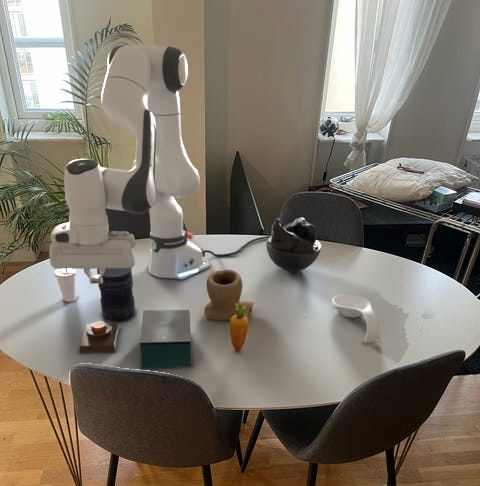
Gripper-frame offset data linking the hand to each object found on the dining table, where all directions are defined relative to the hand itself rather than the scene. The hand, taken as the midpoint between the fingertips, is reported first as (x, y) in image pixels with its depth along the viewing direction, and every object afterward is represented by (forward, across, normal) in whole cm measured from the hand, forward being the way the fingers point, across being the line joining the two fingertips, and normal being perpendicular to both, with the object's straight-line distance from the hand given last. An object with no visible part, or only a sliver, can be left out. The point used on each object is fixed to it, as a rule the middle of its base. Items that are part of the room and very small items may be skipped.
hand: (96, 282), depth 119 cm
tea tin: (+18, -17, +5) cm, 26 cm away
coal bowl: (+18, -63, -46) cm, 80 cm away
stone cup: (+19, -36, -12) cm, 42 cm away
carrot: (+19, -36, +7) cm, 42 cm away
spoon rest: (+18, -75, -7) cm, 78 cm away
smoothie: (+19, +14, -25) cm, 34 cm away
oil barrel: (+19, -2, -15) cm, 24 cm away
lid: (+11, -17, +6) cm, 21 cm away
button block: (+18, +1, -1) cm, 18 cm away
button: (+15, +1, -1) cm, 15 cm away
